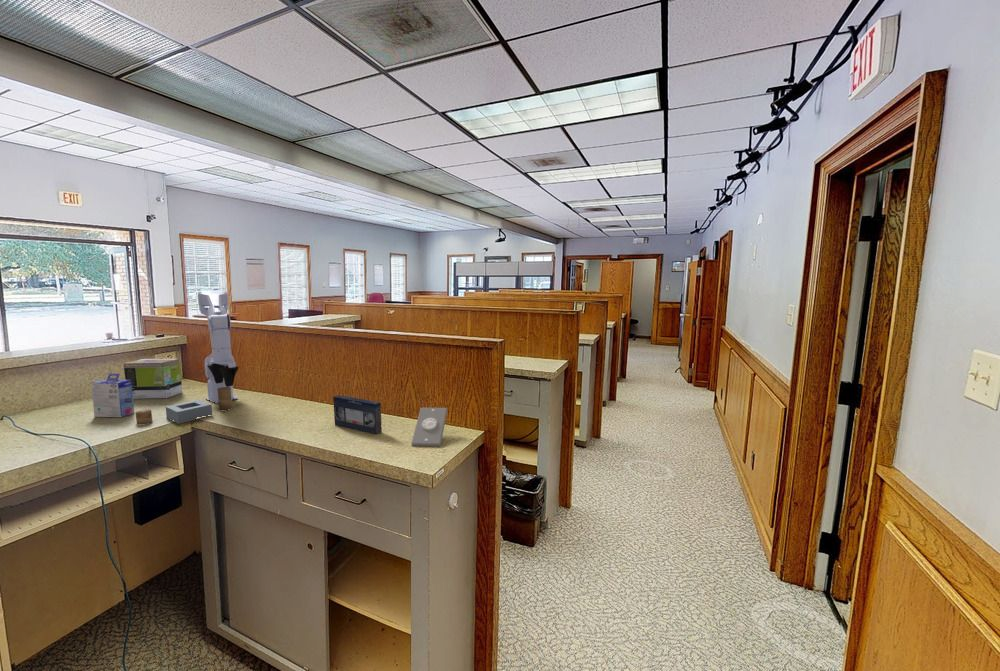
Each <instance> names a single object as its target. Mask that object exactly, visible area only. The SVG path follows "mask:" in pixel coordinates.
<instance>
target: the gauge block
mask: <svg viewBox="0 0 1000 671" xmlns="http://www.w3.org/2000/svg"><path fill="white" fill-rule="evenodd" d="M212 407H213V406H212V404H211V403H208V402H206V401H203V400H200V399H197V400H191V401H187V402H182V403H176V404H172V405H167V406H165V414H166V415H165V416H166V418H167V419H168V418H169V419H168V420H170V419H171V420H170V421H172V420H174V421H175V422H174V421H173V422H174V423H176V424H182V423H186V422H191V421H192V422H193V421H196V420H197V419H196V418H197V417H202V416H208V415H212V416H213V410H212V409H213V408H212ZM195 419H196V420H195Z"/></svg>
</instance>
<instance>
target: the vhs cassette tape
mask: <svg viewBox="0 0 1000 671" xmlns="http://www.w3.org/2000/svg"><path fill="white" fill-rule="evenodd" d="M381 404H382V403H381V402H378V401H375V400H369V399H363V398H357V397H351V396H345V395H340V394H338V395H335V396H334V395H333V416H334V426H335V427H340V428H345V429H349V430H354V431H357V432H361V433H366V434H371V435H379V434H382V432H383V431H382V430H383V429H382V428H383V427H382V409H381V408H382V405H381Z"/></svg>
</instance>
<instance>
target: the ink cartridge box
mask: <svg viewBox="0 0 1000 671" xmlns="http://www.w3.org/2000/svg"><path fill="white" fill-rule="evenodd" d="M120 374H121V373H109V374H108V376H107V379H103V380H98V381H94V382H91V393H92V404H93V416H94V417H95V418H122V417H125V416H129V415H133V414H135V407H134V399H133V394H132V384H131V380H125V379H119V377H120ZM113 376H115V377H113Z"/></svg>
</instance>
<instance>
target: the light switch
mask: <svg viewBox="0 0 1000 671" xmlns="http://www.w3.org/2000/svg"><path fill="white" fill-rule="evenodd" d="M447 414H448V407H420V409H419V413H418V418H417V421H416V424H415V429H414V432H413V436H412V439H411V442H410V443H411V446H412V447H441V446H442V439H443V435H444V431H445V425H446V419H447V416H448V415H447Z"/></svg>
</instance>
